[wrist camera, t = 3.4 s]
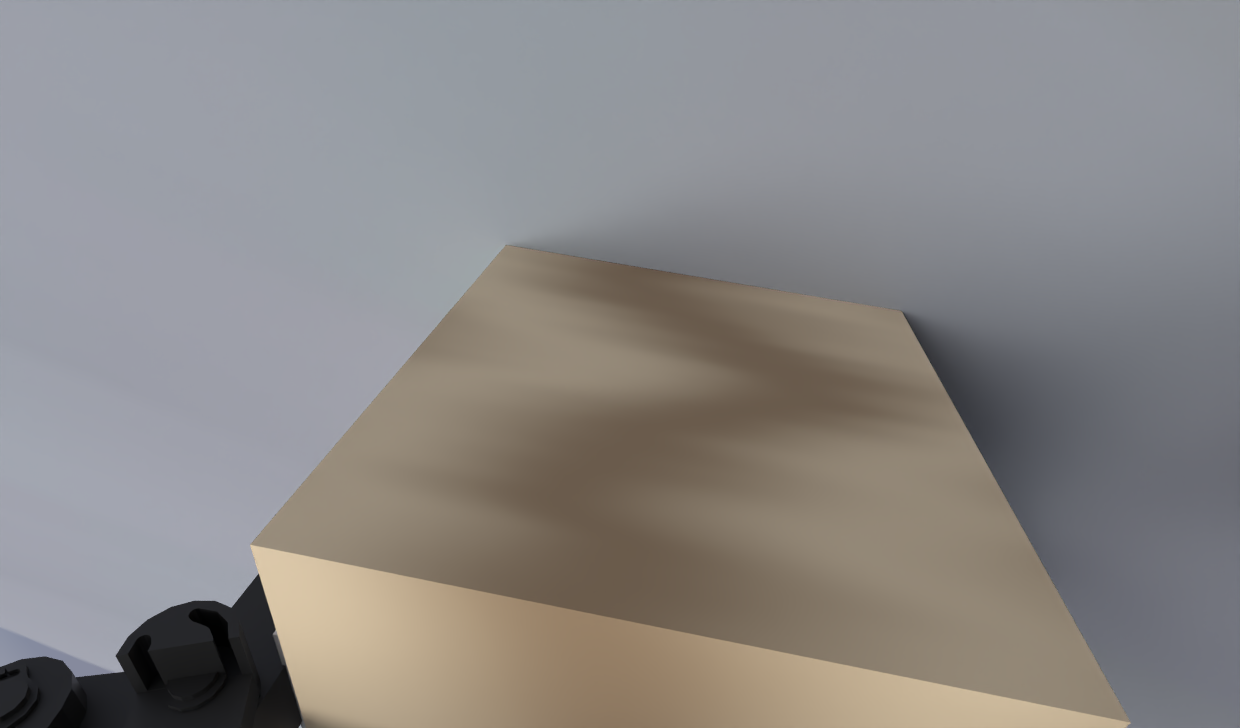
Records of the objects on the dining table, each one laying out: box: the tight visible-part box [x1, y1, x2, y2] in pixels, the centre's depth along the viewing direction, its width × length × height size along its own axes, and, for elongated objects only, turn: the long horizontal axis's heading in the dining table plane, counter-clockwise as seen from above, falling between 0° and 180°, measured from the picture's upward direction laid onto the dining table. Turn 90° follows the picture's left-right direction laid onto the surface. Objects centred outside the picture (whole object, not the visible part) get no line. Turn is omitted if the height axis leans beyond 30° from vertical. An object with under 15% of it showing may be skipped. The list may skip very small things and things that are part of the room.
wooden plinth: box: [250, 245, 1131, 728], centre depth 11 cm, size 8×8×8 cm
